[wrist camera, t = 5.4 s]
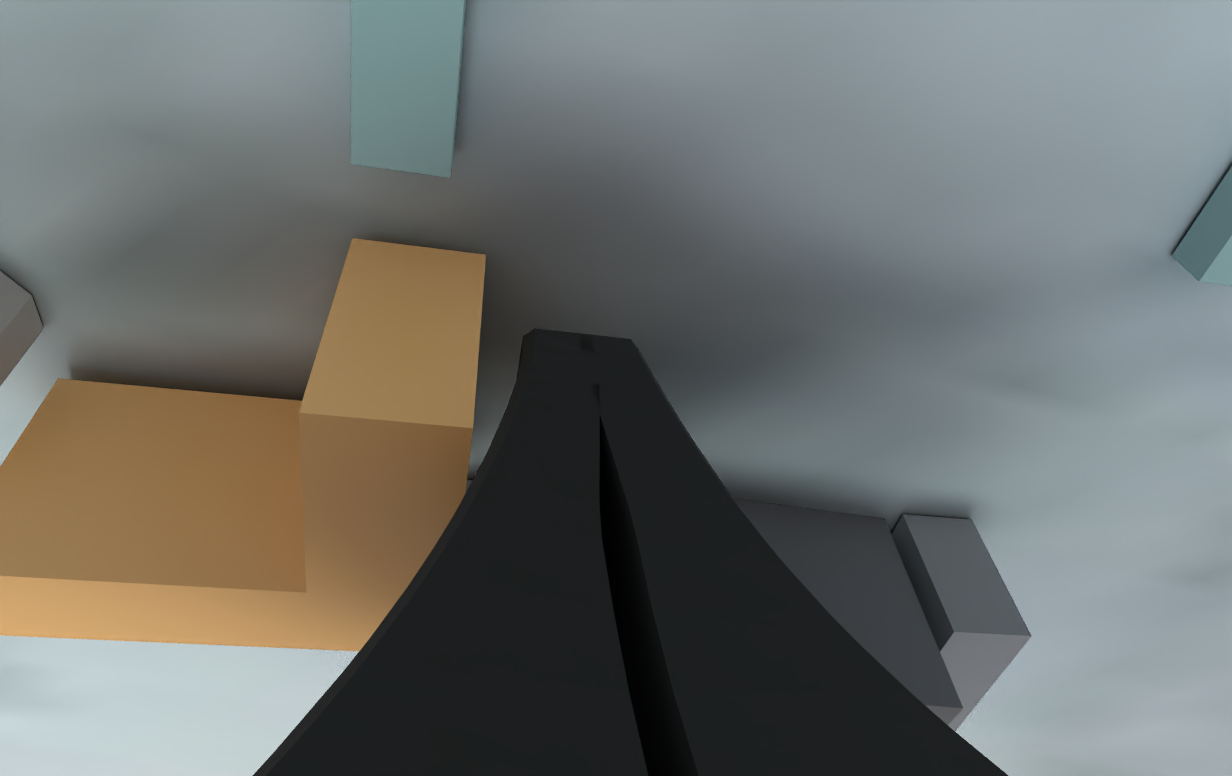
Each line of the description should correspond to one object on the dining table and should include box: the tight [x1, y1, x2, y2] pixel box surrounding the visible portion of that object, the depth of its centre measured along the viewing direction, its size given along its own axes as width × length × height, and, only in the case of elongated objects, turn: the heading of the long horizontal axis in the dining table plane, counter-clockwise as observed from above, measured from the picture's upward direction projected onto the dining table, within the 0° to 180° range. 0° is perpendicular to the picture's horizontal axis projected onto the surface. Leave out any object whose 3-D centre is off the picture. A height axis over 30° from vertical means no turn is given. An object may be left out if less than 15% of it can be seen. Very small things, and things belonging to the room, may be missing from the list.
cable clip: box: [465, 480, 1031, 731], centre depth 14 cm, size 8×5×2 cm, turn 79°
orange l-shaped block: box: [0, 238, 486, 651], centre depth 10 cm, size 5×4×3 cm
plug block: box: [733, 498, 963, 725], centre depth 14 cm, size 5×5×4 cm
